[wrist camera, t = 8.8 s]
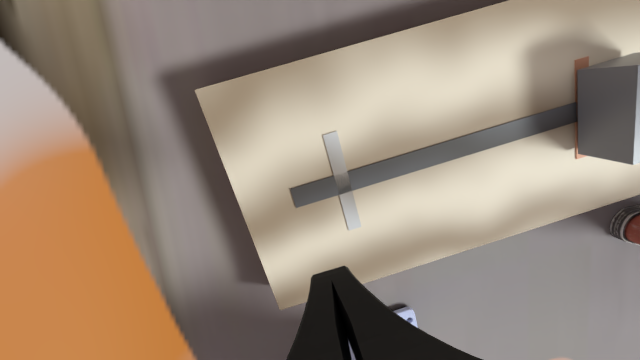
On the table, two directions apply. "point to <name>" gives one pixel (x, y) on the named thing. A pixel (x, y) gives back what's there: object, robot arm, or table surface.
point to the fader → (610, 110)
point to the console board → (420, 140)
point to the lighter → (627, 225)
